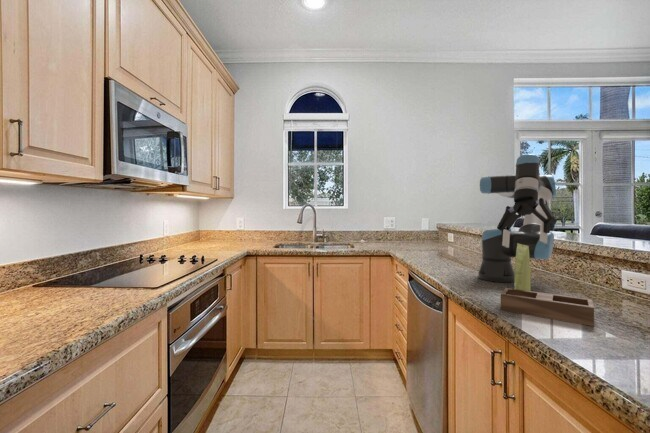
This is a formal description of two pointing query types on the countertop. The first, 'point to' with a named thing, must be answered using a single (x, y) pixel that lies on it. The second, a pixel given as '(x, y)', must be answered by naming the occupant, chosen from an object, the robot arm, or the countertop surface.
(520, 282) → the tube
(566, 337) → the countertop surface
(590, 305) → the brown wooden slotted holder
